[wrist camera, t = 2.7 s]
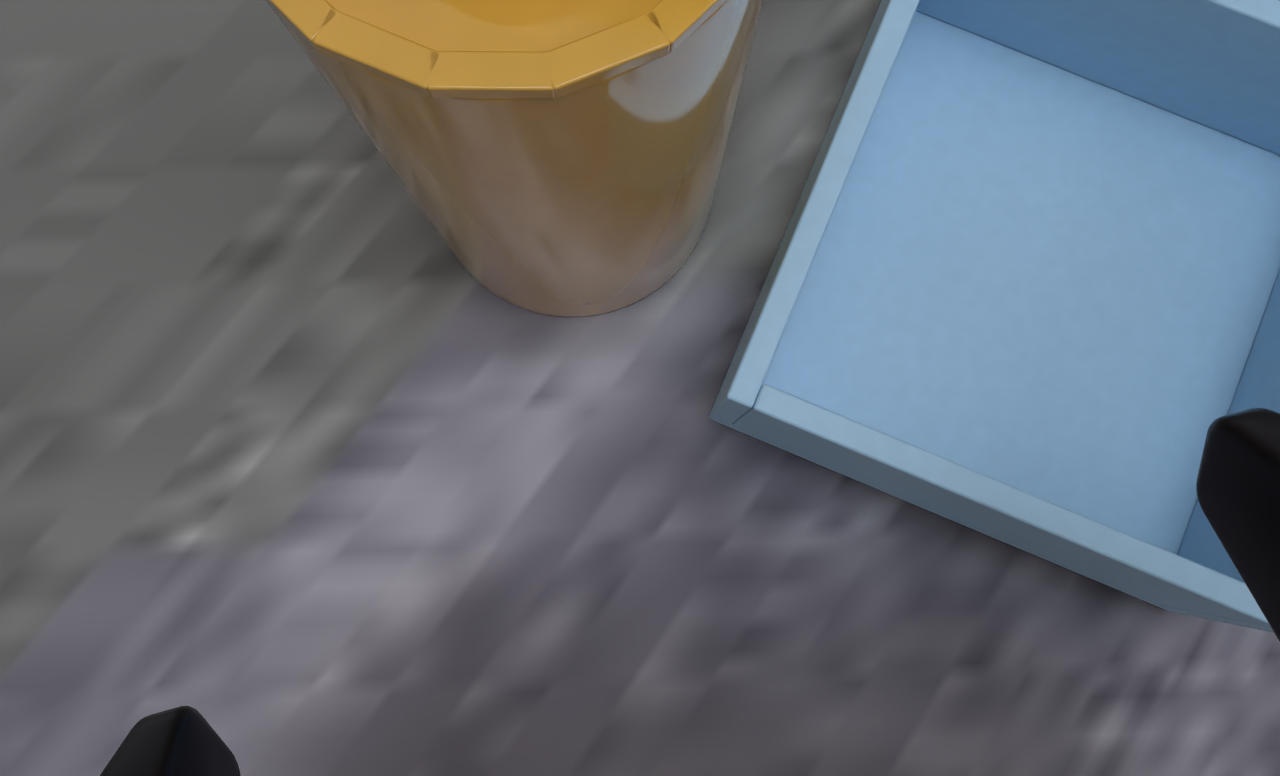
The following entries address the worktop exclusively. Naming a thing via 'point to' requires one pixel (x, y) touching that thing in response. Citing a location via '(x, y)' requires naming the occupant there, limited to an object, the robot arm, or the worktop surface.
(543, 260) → the tall tapered cup
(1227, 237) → the bin
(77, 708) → the worktop surface
